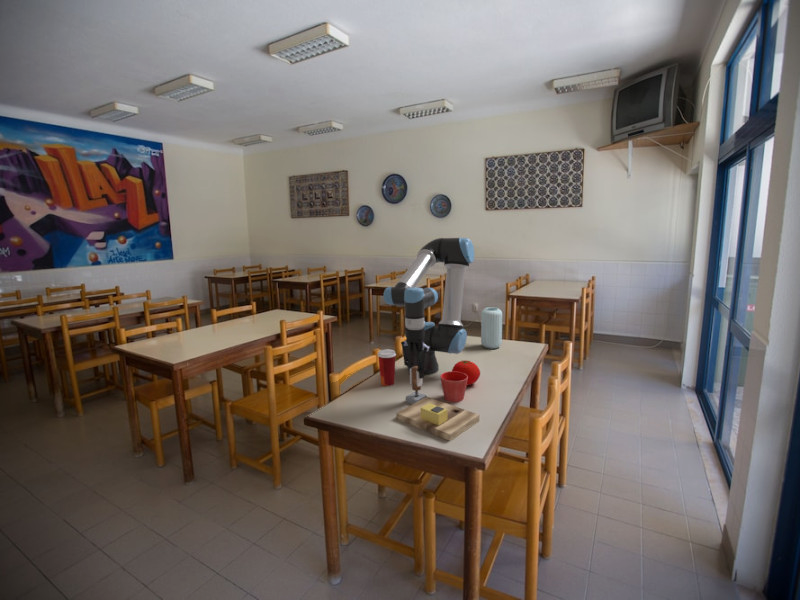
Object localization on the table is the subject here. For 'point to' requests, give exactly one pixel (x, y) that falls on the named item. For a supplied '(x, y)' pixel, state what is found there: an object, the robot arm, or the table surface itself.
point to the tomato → (468, 370)
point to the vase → (491, 327)
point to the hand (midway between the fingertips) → (416, 384)
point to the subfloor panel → (447, 430)
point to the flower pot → (454, 385)
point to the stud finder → (434, 414)
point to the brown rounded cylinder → (415, 380)
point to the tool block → (415, 397)
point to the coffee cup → (387, 366)
